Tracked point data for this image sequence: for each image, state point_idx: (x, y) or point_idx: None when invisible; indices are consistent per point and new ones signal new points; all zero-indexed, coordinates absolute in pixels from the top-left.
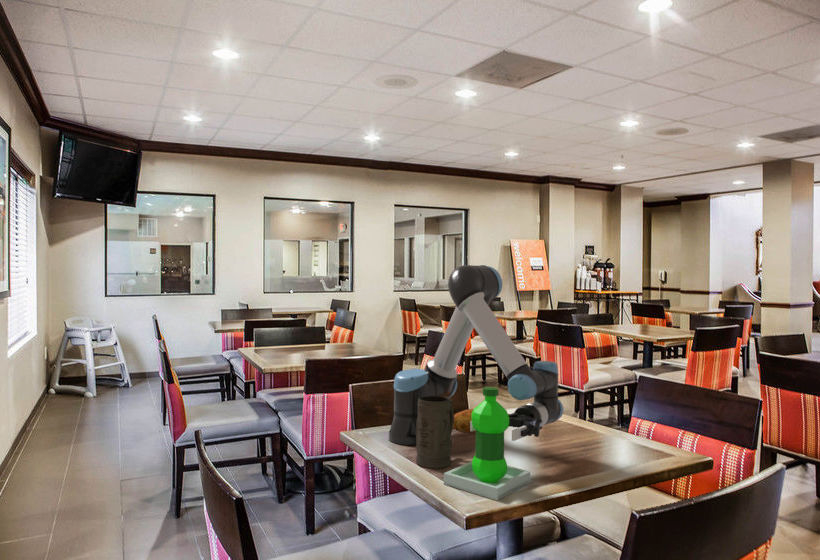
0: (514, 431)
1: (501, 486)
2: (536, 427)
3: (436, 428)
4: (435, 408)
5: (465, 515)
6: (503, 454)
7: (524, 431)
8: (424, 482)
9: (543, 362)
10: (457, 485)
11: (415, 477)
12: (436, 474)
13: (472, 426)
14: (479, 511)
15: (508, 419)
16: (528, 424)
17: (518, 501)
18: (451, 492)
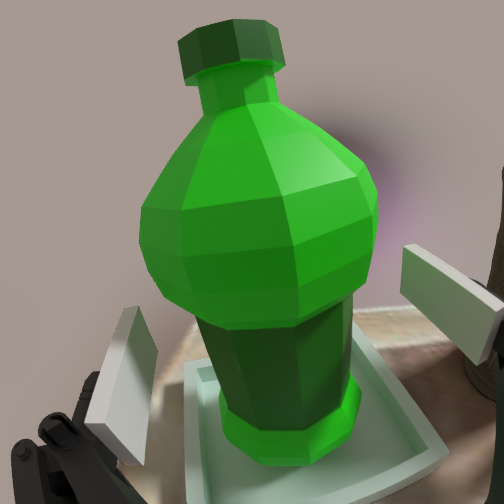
0: (124, 312)
1: (184, 376)
2: (22, 444)
3: (494, 251)
4: (502, 178)
5: None
6: (224, 395)
7: (90, 376)
8: (379, 318)
9: None
10: None
11: (414, 313)
12: (423, 350)
13: (402, 269)
14: (190, 334)
15: (142, 245)
16: (60, 412)
17: (152, 411)
18: None
